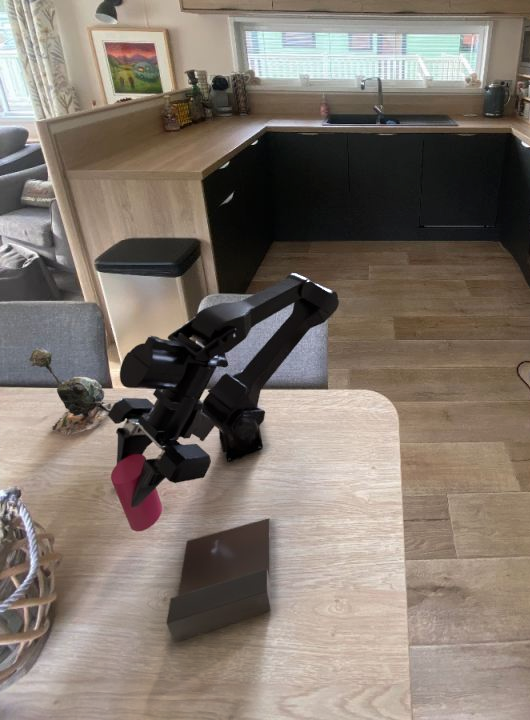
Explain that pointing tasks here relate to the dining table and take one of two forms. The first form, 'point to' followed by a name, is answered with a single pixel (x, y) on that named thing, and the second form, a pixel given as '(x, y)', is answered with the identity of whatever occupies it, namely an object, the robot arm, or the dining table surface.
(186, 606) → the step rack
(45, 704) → the dining table surface
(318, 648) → the dining table surface
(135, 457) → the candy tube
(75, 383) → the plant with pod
